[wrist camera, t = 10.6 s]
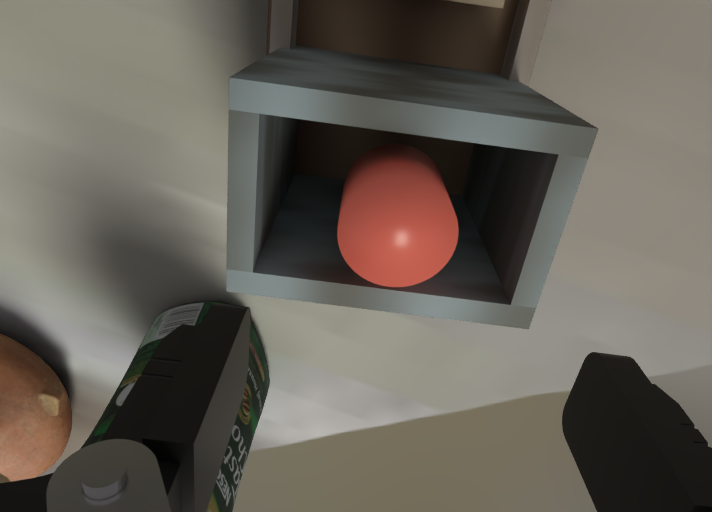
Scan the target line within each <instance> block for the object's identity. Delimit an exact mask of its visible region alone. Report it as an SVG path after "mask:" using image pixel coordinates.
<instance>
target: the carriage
mask: <svg viewBox="0 0 712 512" xmlns="http://www.w3.org/2000/svg"><path fill="white" fill-rule="evenodd" d="M446 1H452V2H459V3H466V4H473V5H480V6H487V7H495V8H503V6H504V2H505V0H446Z"/></svg>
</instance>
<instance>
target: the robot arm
mask: <svg viewBox="0 0 712 512" xmlns="http://www.w3.org/2000/svg"><path fill="white" fill-rule="evenodd" d="M250 320H251V311H250V308H249V307H243V306H235V305H227V304H219V303H213V304H212V305H211V306H210V308H209V310H208V312H207V314H206V316H205V318H204V320H203V322H202V324H201V326H194V325H186V324H182V325H180V326H179V327H177V328H176V329H175V330H173V331H172V332H170V333H169V334H168V335H166V336H165V337H164V338H162V340H161V341H160V343H159V344H158V346H157V348H156V349H155V351H154V353H153V354H152V356H151V360H150V361H148V363H147V364H146V366H145V368H144V369H143V371H142V372H141V377H138V379H137V381H136V382H135V384H134V386H133V387H132V389H131V391H130V392H129V394H128V395H127V397H126V399H125V400H124V402H123V404H122V405H121V407H120V409H119V410H118V412H117V414H116V415H115V417H114V419H113V420H112V422H111V423H110V425H109V427H108V428H107V430H106V432H105V433H104V435H103V437H102V438H101V440H100V441H99V442H96V443H94V444H91V445H88V446H86V447H84V448H82V449H80V450H78V451H77V452H75V453H73V454H72V455H71V456H69V457H68V458H67V459H65V460H64V461H63V462H62V463H61V464H60V465H59V466H58V468H57V469H56V470H55V472H54V473H51V474H48V475H45V476H41V477H36V478H31V479H24V480H18V481H11V482H5V483H0V512H206V511H207V508H208V505H209V502H210V499H211V496H212V493H213V489H214V486H215V483H216V480H217V477H218V474H219V471H220V467H221V464H222V461H223V458H224V455H225V452H226V449H227V445H228V442H229V439H230V436H231V433H232V430H233V427H234V424H235V420H236V417H237V414H238V411H239V408H240V405H241V402H242V398H243V395H244V391H245V386H246V381H247V374H248V362H249V341H250ZM562 426H563V433H564V436H565V439H566V441H567V443H568V446H569V448H570V450H571V453H572V455H573V457H574V459H575V461H576V464H577V466H578V469H579V471H580V473H581V475H582V478H583V480H584V482H585V485H586V487H587V489H588V492H589V494H590V496H591V498H592V501H593V503H594V505H595V507H596V510H597V512H712V448H711V447H708V442H707V441H706V440H705V439H704V437H703V436H702V434H701V433H700V432H699V430H698V429H695V428H694V424H693V422H692V421H691V420H690V418H689V417H688V416H687V414H686V413H685V412H684V410H683V409H682V408H681V406H680V405H679V404H678V403H677V402H676V401H675V400H673V399H672V398H671V397H670V396H669V395H667V394H666V393H665V392H664V391H663V390H661V389H660V388H659V387H658V386H656V385H655V384H651V382H650V381H649V379H648V378H647V377H646V375H645V374H644V372H643V371H642V370H641V368H640V367H639V366H638V364H637V363H636V361H635V360H634V359H632V358H631V357H628V356H620V355H612V354H604V353H596V352H592V353H590V354H589V355H587V357H586V358H585V360H584V362H583V364H582V367H581V369H580V371H579V374H578V376H577V378H576V381H575V383H574V385H573V388H572V390H571V392H570V395H569V397H568V399H567V402H566V404H565V407H564V410H563V416H562Z"/></svg>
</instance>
